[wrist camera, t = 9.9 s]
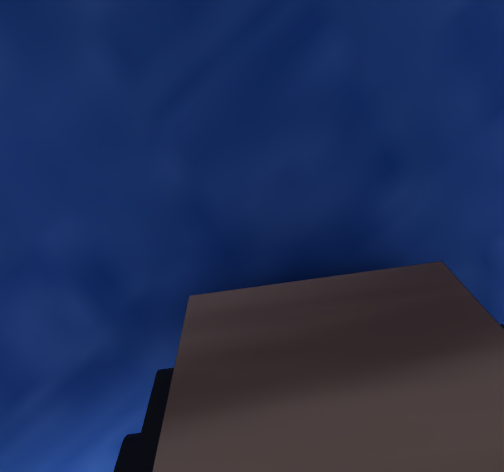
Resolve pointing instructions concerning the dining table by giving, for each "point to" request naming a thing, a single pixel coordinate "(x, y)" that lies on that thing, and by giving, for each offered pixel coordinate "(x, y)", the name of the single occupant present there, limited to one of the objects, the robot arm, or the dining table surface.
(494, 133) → the dining table surface
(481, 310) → the brown block
